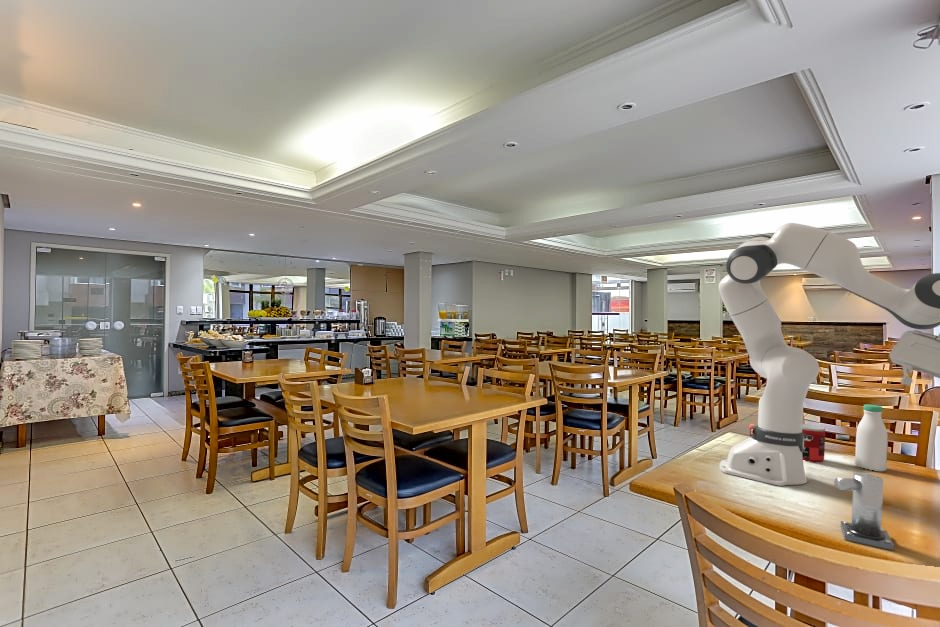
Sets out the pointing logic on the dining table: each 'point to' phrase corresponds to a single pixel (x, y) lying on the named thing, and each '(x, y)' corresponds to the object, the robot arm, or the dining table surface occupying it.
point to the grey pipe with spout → (864, 502)
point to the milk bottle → (871, 440)
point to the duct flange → (867, 537)
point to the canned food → (813, 443)
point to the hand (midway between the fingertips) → (929, 393)
